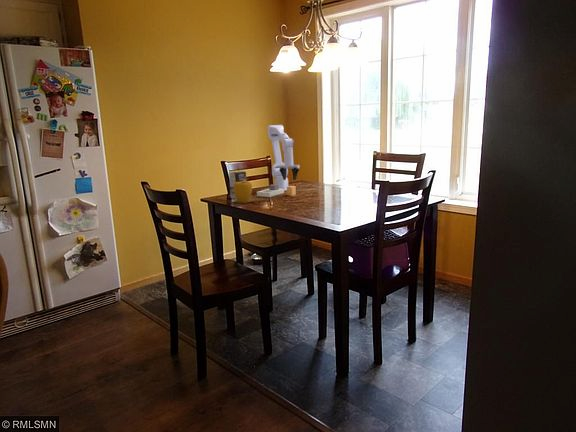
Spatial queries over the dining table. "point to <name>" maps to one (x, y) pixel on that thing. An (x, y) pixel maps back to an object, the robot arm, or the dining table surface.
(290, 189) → the plug
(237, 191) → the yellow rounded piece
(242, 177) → the coffee box
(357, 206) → the dining table surface
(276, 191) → the white rectangular base
